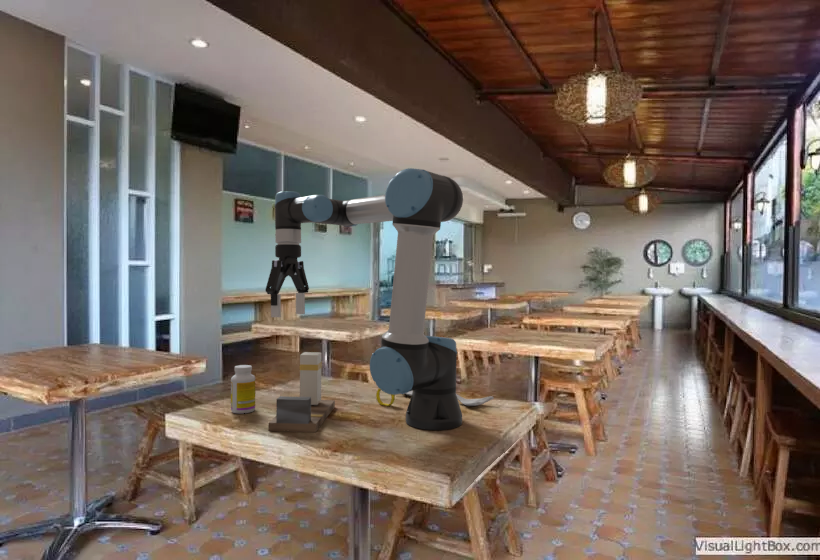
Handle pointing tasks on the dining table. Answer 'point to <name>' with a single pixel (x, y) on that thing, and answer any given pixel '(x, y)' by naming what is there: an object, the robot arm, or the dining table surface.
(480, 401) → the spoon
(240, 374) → the supplement bottle
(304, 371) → the banded white pillar
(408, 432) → the dining table surface
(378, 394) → the yellow ring
